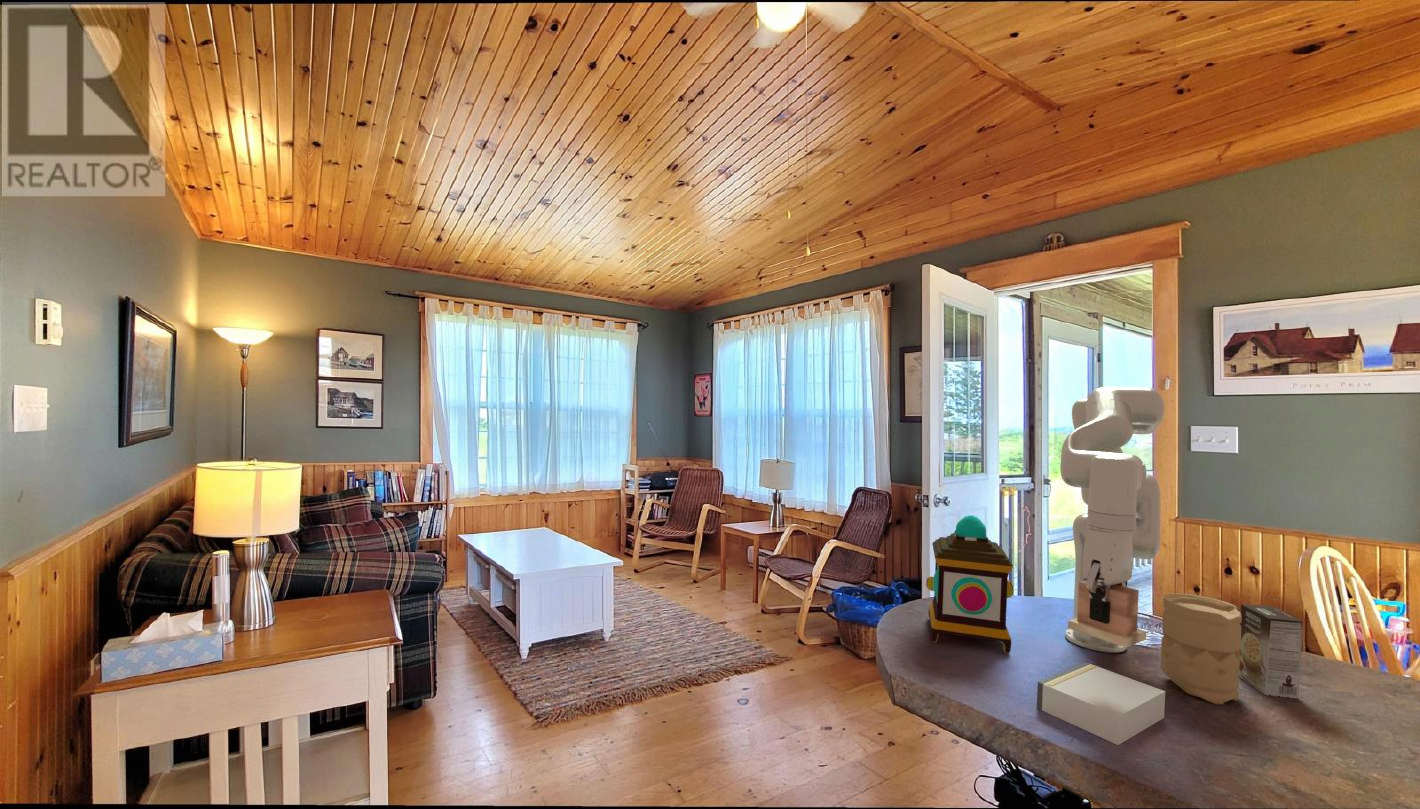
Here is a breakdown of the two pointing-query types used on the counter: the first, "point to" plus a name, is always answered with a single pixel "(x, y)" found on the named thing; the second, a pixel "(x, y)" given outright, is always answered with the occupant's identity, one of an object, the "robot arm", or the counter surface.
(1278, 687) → the coffee box
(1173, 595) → the container
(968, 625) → the decorative lantern
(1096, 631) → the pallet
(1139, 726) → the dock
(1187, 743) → the counter surface
